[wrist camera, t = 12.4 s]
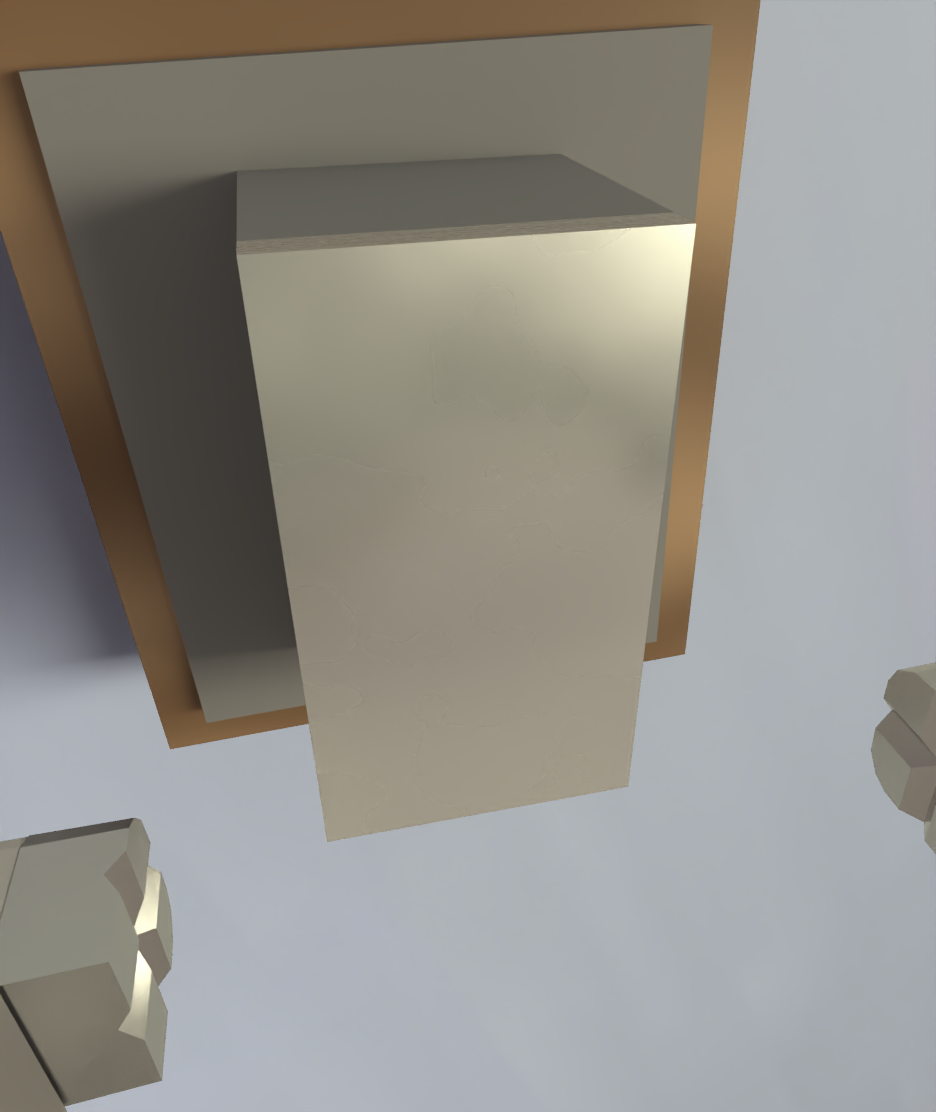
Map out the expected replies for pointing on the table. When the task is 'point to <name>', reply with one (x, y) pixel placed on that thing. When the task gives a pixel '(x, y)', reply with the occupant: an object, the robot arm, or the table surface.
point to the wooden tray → (213, 276)
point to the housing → (464, 468)
